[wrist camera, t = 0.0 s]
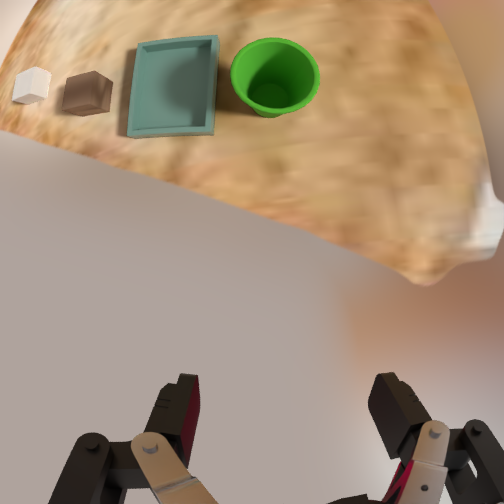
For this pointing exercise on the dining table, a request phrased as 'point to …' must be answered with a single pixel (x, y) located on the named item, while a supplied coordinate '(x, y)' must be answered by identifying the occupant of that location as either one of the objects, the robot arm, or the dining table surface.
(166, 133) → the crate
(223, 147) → the dining table surface
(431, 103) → the dining table surface
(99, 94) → the walnut block
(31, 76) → the cream box
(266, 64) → the cup
